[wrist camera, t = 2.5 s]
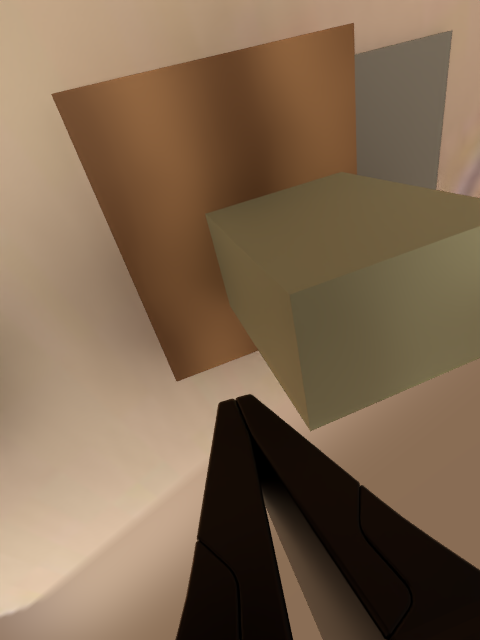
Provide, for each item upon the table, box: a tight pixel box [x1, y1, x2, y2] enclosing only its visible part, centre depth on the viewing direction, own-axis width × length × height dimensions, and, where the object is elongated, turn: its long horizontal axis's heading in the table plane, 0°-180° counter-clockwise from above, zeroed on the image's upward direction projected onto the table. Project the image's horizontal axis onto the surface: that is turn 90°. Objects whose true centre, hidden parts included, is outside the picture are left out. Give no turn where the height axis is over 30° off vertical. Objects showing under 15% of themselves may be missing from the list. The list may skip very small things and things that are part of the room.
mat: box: [355, 31, 452, 190], centre depth 19 cm, size 7×10×1 cm, turn 14°
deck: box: [52, 23, 357, 381], centre depth 17 cm, size 12×14×2 cm
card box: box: [205, 172, 480, 431], centre depth 13 cm, size 7×5×9 cm
